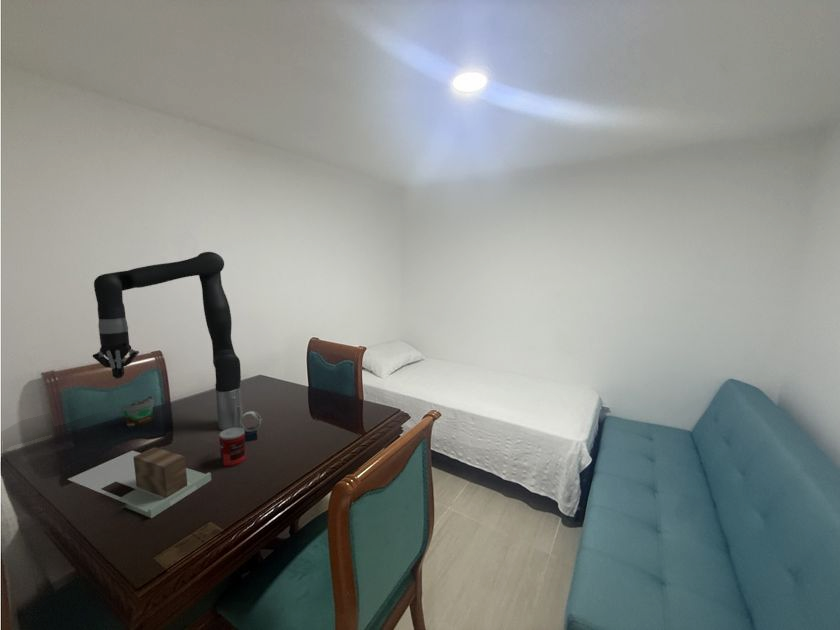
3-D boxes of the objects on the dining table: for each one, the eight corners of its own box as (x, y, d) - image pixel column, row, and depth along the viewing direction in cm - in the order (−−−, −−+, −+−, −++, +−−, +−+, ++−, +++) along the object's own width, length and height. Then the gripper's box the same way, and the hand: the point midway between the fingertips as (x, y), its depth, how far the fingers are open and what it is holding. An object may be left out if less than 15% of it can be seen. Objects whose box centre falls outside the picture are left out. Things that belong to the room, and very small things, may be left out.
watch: (262, 438, 136) (261, 413, 134) (240, 443, 132) (238, 416, 130) (262, 432, 141) (261, 407, 139) (240, 436, 137) (239, 411, 135)
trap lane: (67, 483, 106) (66, 476, 105) (132, 454, 122) (132, 448, 122) (151, 518, 92) (150, 510, 92) (211, 480, 109) (210, 473, 109)
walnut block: (136, 486, 103) (133, 456, 101) (157, 475, 108) (154, 447, 107) (167, 498, 98) (164, 467, 97) (187, 486, 104) (184, 456, 102)
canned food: (227, 455, 123) (225, 427, 122) (249, 454, 124) (248, 427, 123) (216, 467, 116) (214, 438, 114) (240, 466, 117) (238, 437, 115)
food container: (135, 430, 140) (133, 407, 138) (123, 428, 141) (121, 406, 140) (163, 417, 152) (161, 396, 150) (152, 416, 153) (150, 395, 152)
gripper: (83, 333, 111) (89, 383, 114) (131, 331, 116) (136, 379, 118) (95, 329, 118) (101, 376, 121) (141, 328, 123) (145, 373, 125)
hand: (119, 377), depth 120 cm, fingers closed
